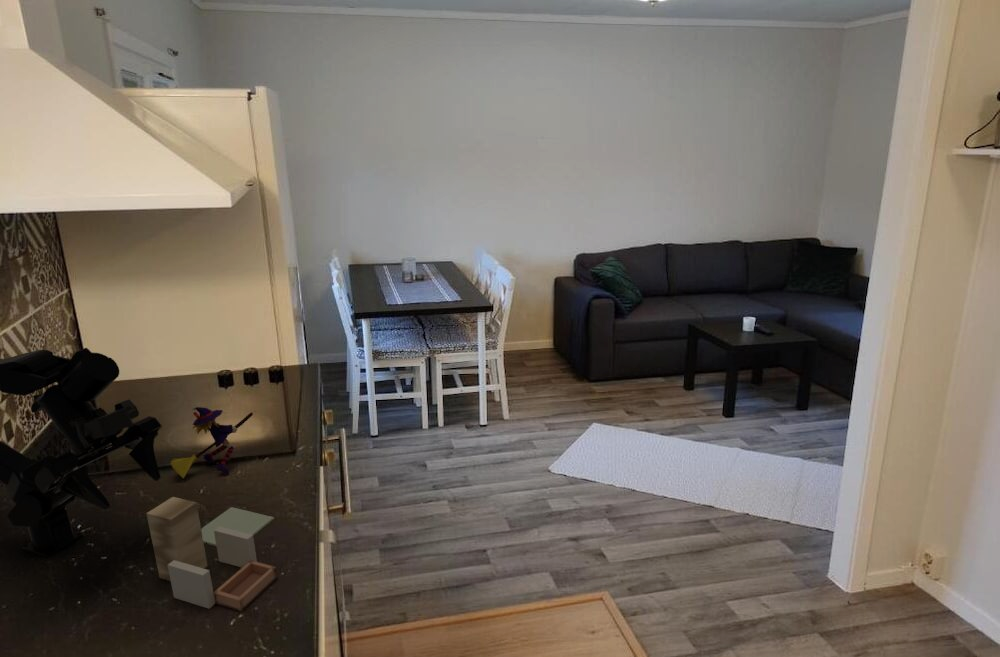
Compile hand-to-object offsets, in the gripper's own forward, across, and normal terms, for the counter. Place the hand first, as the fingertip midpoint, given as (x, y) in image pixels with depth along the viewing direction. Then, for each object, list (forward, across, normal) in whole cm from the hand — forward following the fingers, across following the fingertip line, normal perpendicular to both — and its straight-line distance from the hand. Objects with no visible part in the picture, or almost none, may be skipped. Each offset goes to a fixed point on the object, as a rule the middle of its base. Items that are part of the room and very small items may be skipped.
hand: (134, 493), depth 101 cm
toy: (+1, +28, +18) cm, 34 cm away
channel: (+19, 0, -2) cm, 20 cm away
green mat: (+14, +12, +4) cm, 19 cm away
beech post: (+15, 0, +3) cm, 15 cm away
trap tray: (+23, +1, -7) cm, 24 cm away
